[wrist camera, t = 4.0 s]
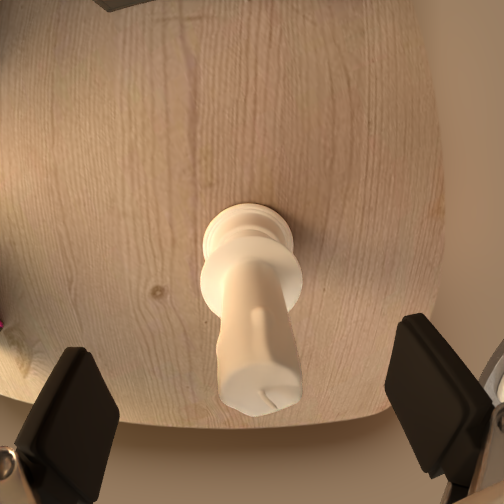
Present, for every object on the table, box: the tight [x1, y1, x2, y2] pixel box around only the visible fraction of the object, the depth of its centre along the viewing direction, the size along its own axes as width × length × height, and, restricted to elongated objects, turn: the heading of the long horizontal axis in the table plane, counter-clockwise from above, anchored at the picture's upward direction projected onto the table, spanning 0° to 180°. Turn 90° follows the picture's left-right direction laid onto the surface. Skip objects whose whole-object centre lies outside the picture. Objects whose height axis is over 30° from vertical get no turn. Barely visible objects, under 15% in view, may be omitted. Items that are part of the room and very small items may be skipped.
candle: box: [200, 203, 303, 417], centre depth 14 cm, size 5×5×12 cm
